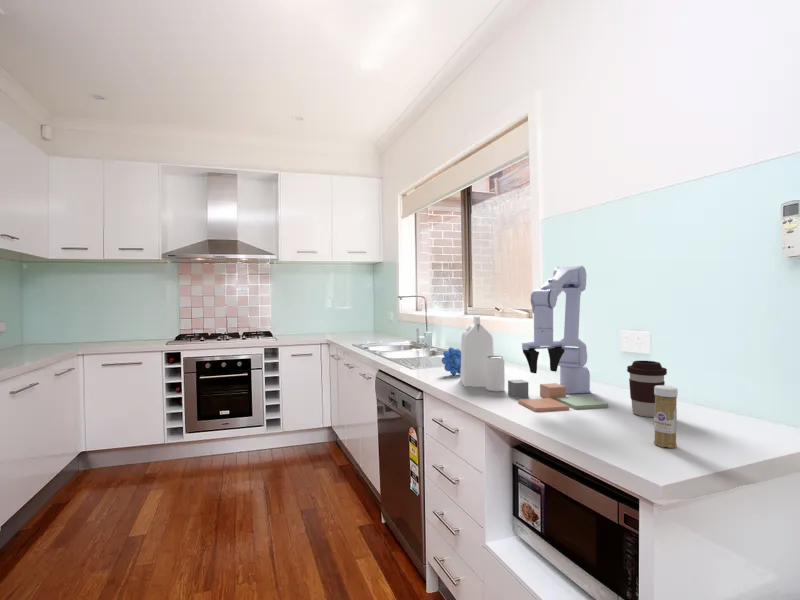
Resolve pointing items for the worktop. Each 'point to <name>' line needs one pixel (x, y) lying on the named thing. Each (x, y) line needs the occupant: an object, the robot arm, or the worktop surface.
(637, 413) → the coffee cup
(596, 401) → the sage pad
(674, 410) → the sprinkles bottle
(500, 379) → the can
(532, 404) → the terracotta pad
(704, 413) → the worktop surface
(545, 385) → the block
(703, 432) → the worktop surface
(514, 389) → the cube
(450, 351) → the grapes
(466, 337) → the milk
